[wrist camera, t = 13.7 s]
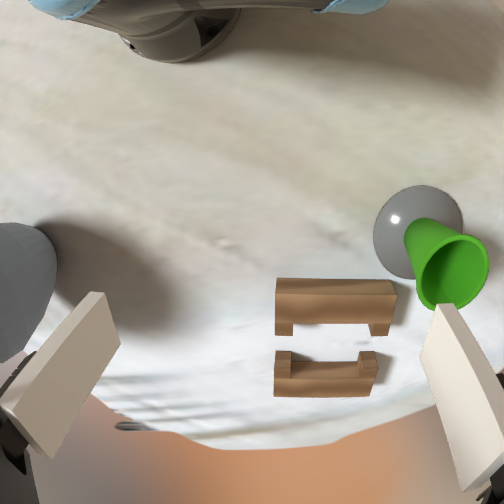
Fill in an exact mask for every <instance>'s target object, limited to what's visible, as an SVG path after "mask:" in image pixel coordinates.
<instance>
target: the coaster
mask: <svg viewBox="0 0 504 504" xmlns="http://www.w3.org/2000/svg"><path fill="white" fill-rule="evenodd" d="M419 218H429V219H432V220H434V221H436V222H438V223H440V224H442V225H444V226H446V227H448V228H450V229H453V230H455V231H457V232H459V233H461V234H462V220H461V216H460V212H459V210H458V208H457V206H456V204H455V203H454V201H453V200H452V199H451V198H450V197H449V196H448V195H447V194H445V193H444V192H442V191H441V190H439V189H437V188H434V187H431V186H425V185H419V186H412V187H409V188H406V189H404V190H402V191H400V192H398V193H397V194H395V195H394V196H393V197H392V198H390V200H389V201H388V202H387V203H386V204H385V205H384V206H383V208H382V209H381V211H380V213H379V215H378V217H377V219H376V223H375V226H374V232H373V242H374V248H375V251H376V254H377V256H378V258H379V260H380V262H381V263H382V265H383V266H384V267H385V268H386V269H387V270H388V271H389V272H390V273H392V274H393V275H395V276H397V277H400V278H404V279H412V280H413V279H416V277H415V274H414V271H413V268H412V265H411V262H410V259H409V256H408V253H407V251H406V248H405V245H404V234H405V231H406V228H407V227H408V225H409V224H410V223H411V222H412V221H414V220H416V219H419Z"/></svg>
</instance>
